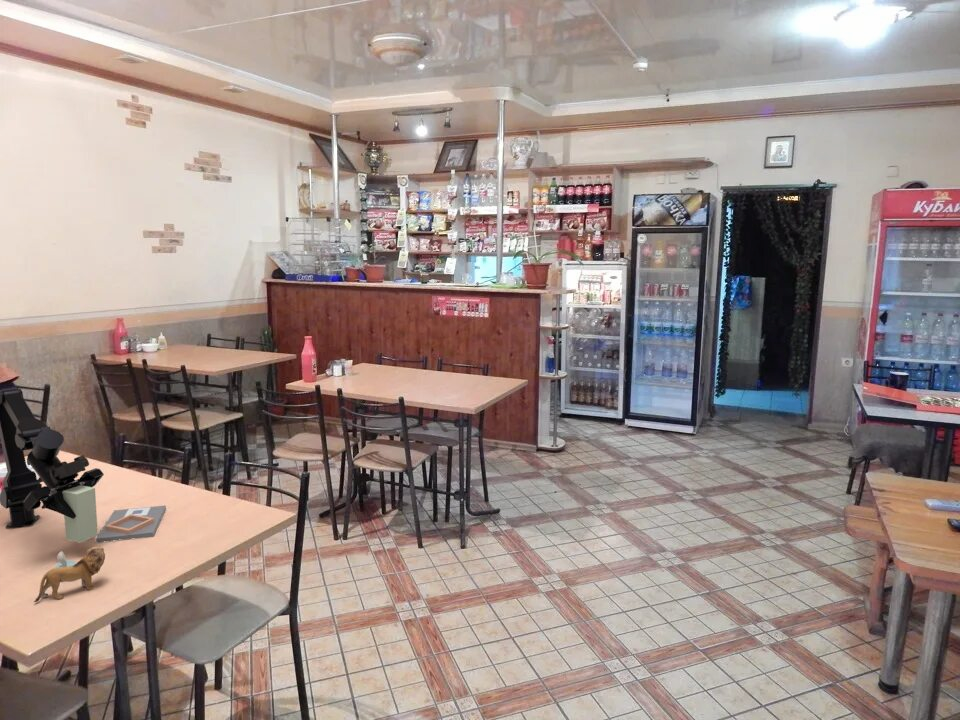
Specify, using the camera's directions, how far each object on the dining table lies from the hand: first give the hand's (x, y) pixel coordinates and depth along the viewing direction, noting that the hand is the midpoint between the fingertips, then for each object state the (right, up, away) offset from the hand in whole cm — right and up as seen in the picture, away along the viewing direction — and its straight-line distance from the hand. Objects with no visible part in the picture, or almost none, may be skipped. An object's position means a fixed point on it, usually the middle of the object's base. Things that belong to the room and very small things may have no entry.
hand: (84, 513), depth 160 cm
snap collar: (+3, -7, +15) cm, 17 cm away
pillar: (-2, -7, +1) cm, 7 cm away
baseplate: (+2, -8, +19) cm, 21 cm away
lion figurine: (+8, -14, -16) cm, 23 cm away
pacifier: (+2, -13, -9) cm, 16 cm away
